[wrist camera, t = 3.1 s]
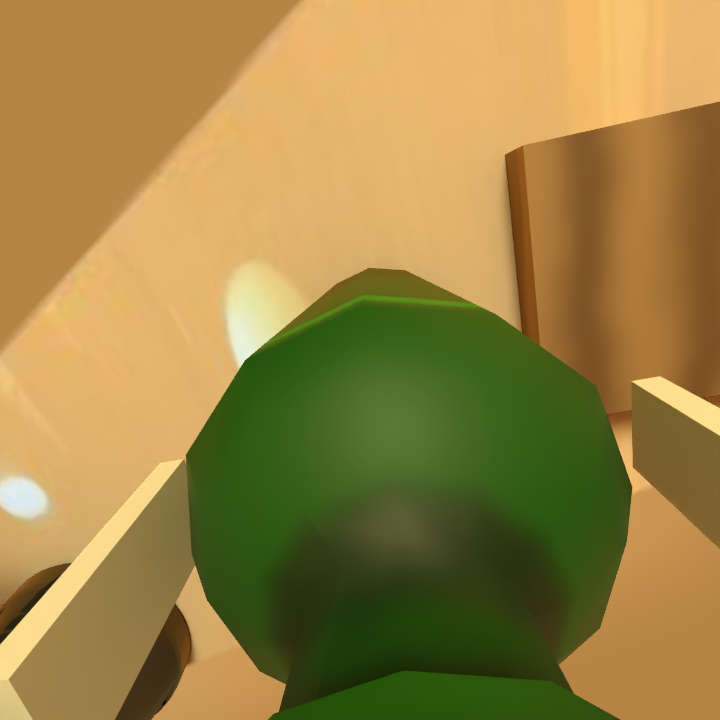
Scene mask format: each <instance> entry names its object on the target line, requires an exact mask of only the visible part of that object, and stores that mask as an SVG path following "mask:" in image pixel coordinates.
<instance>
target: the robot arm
mask: <svg viewBox="0 0 720 720" xmlns="http://www.w3.org/2000/svg"><path fill="white" fill-rule="evenodd" d="M631 393H632V445H633V468H634V469H635V470H637V471H638V472H639V473H640V474H641V475H642V476H643V477H644V478H645V479H646V480H647V481H648V482H649V483H650V484H651V485H652V486H654V487H655V488H656V489H657V490H658V491H659V492H660V493H661V494H662V495H663V496H664V497H665V498H666V499H667V500H669V502H671V503H672V504H673V505H674V506H675V507H676V508H677V509H678V510H679V511H680V512H681V513H682V514H683V515H684V516H685V517H687V518H688V519H689V520H690V521H691V522H692V523H693V524H694V525H695V526H696V527H697V528H698V529H699V530H700V531H701V532H702V533H703V534H705V535H706V536H707V537H708V538H709V539H710V540H711V541H712V542H713V543H714V544H715V545H716V546H717V547H718V548H719V549H720V408H718V407H716V406H715V405H713V404H711V403H709V402H707V401H705V400H703V399H702V398H700V397H698V396H696V395H694V394H692V393H690V392H688V391H687V390H685V389H683V388H681V387H679V386H677V385H675V384H674V383H672V382H670V381H668V380H666V379H664V378H662V377H661V376H659V377H653V378H647V379H641V380H635V381H631ZM194 566H195V562H194V559H193V556H192V552H191V535H190V517H189V499H188V482H187V466H186V463H185V461H184V459H180V460H175V461H169V462H163V463H160V464H159V465H158V466H157V467H156V468H155V469H154V471H153V472H152V473H151V474H150V475H149V476H148V477H147V479H146V480H145V481H144V482H143V483H142V484H141V485H140V487H139V488H138V489H137V490H136V491H135V492H134V493H133V494H132V496H131V497H130V498H129V499H128V500H127V501H126V502H125V504H124V505H123V506H122V507H121V508H120V509H119V510H118V512H117V513H116V514H115V515H114V516H113V517H112V518H111V519H110V521H109V522H108V523H107V524H106V525H105V526H104V527H103V529H102V530H101V531H100V532H99V533H98V534H97V535H96V536H95V538H94V539H93V540H92V541H91V542H90V543H89V544H88V546H87V547H86V548H85V549H84V550H83V551H82V552H81V554H80V555H79V556H78V557H77V558H76V559H75V560H74V561H73V563H69V564H62V565H58V566H54V567H51V568H48V569H45V570H43V571H41V572H39V573H37V574H35V575H34V576H32V577H31V578H29V579H28V580H27V581H26V582H25V583H24V584H23V585H22V586H21V587H20V588H19V589H18V590H17V591H16V592H15V593H14V594H13V595H12V596H11V597H10V598H9V599H8V600H7V602H6V603H5V604H4V605H3V606H2V607H1V609H0V720H151V719H152V718H153V716H154V715H155V714H157V713H158V712H159V711H160V710H161V709H162V708H163V706H165V704H166V703H167V702H168V701H169V699H170V698H171V697H172V695H173V693H174V691H175V690H176V688H177V686H178V683H179V681H180V679H181V676H182V674H183V671H184V669H185V667H186V664H187V662H188V659H189V654H190V636H189V631H188V628H187V625H186V623H185V621H184V618H183V617H182V615H181V613H180V612H179V610H178V609H177V607H176V606H175V605H174V604H175V603H176V601H177V599H178V597H179V595H180V593H181V591H182V589H183V587H184V585H185V583H186V581H187V579H188V577H189V575H190V574H191V572H192V570H193V568H194Z"/></svg>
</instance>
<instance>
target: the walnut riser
mask: <svg viewBox="0 0 720 720" xmlns="http://www.w3.org/2000/svg"><path fill="white" fill-rule="evenodd" d="M505 156H506V166H507V177H508V187H509V197H510V208H511V218H512V228H513V239H514V249H515V259H516V270H517V280H518V291H519V301H520V311H521V322H522V332H523V334H524V335H526V336H527V337H528V338H530V339H531V340H533V341H534V342H535V343H537V344H538V345H540V346H541V347H543V348H544V349H545V350H547V351H548V352H550V353H551V354H552V355H554V356H555V357H557V358H558V359H559V360H561V361H562V362H564V363H565V364H566V365H568V366H569V367H571V368H572V369H573V370H575V371H576V372H578V373H579V374H580V375H582V376H583V377H585V378H586V379H587V380H589V381H590V382H592V383H593V384H594V385H596V386H597V388H598V390H599V393H600V396H601V399H602V402H603V405H604V408H605V411H606V413H607V414H612V413H618V412H623V411H629V410H632V393H631V381H635V380H641V379H647V378H653V377H659V376H661V377H662V378H664V379H666V380H668V381H670V382H672V383H674V384H675V385H677V386H679V387H681V388H683V389H685V390H687V391H688V392H690V393H692V394H694V395H696V396H698V397H700V398H704V397H710V396H716V395H720V102H716V103H712V104H707V105H703V106H698V107H694V108H689V109H685V110H680V111H676V112H671V113H667V114H662V115H658V116H653V117H649V118H644V119H640V120H635V121H631V122H626V123H622V124H618V125H613V126H609V127H604V128H600V129H595V130H591V131H586V132H582V133H577V134H573V135H568V136H564V137H559V138H555V139H550V140H546V141H541V142H537V143H532V144H528V145H523V146H521V147H519V148H517V149H515V150H513V151H511V152H509V153H507V154H506V155H505Z"/></svg>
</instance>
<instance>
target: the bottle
mask: <svg viewBox="0 0 720 720" xmlns="http://www.w3.org/2000/svg"><path fill="white" fill-rule="evenodd" d="M186 464H187V482H188V499H189V517H190V535H191V552H192V556H193V559H194V562H195V565H196V568H197V571H198V574H199V577H200V580H201V583H202V586H203V589H204V592H205V595H206V598H207V601H208V602H209V603H210V605H211V606H212V607H213V609H214V610H215V612H216V613H217V614H218V616H219V617H220V618H221V620H222V621H223V622H224V624H225V625H226V626H227V628H228V629H229V630H230V632H231V633H232V634H233V636H234V637H235V638H236V640H237V641H238V643H239V644H240V645H241V647H242V648H243V649H244V651H245V652H246V653H247V655H248V656H249V657H250V659H251V660H252V661H253V663H254V664H255V665H256V667H257V668H258V669H259V671H260V672H262V673H264V674H266V675H268V676H270V677H273V678H274V679H276V680H278V681H280V682H282V683H285V684H286V687H285V691H284V695H283V698H282V703H281V706H280V710H279V712H278V713H275V714H273V715H272V716H271V717H270V718H269V719H268V720H620V719H618V718H616V717H614V716H613V715H611V714H609V713H607V712H605V711H604V710H602V709H600V708H598V707H596V706H595V705H593V704H591V703H589V702H587V701H586V700H584V699H582V698H580V697H578V696H577V695H575V694H574V693H573V691H572V689H571V688H570V686H569V684H568V682H567V680H566V678H565V676H564V674H563V672H562V671H561V669H560V667H559V664H560V663H561V662H562V661H564V660H565V659H566V658H567V657H568V656H569V655H570V654H572V653H573V652H574V651H575V650H576V649H577V648H578V647H579V646H580V645H582V644H583V643H584V642H585V641H586V640H587V639H588V638H589V637H591V636H592V635H593V634H594V633H595V632H596V631H597V630H598V629H600V626H601V622H602V619H603V616H604V613H605V610H606V607H607V604H608V600H609V597H610V594H611V591H612V587H613V584H614V581H615V578H616V575H617V571H618V568H619V565H620V562H621V558H622V555H623V552H624V549H625V545H626V542H627V535H628V524H629V515H630V504H631V494H632V485H631V483H630V480H629V477H628V474H627V471H626V468H625V465H624V462H623V460H622V457H621V454H620V451H619V448H618V445H617V442H616V439H615V436H614V434H613V431H612V428H611V425H610V422H609V419H608V416H607V413H606V411H605V408H604V405H603V402H602V399H601V396H600V393H599V390H598V388H597V386H596V385H594V384H593V383H592V382H590V381H589V380H587V379H586V378H585V377H583V376H582V375H580V374H579V373H578V372H576V371H575V370H573V369H572V368H571V367H569V366H568V365H566V364H565V363H564V362H562V361H561V360H559V359H558V358H557V357H555V356H554V355H552V354H551V353H550V352H548V351H547V350H545V349H544V348H543V347H541V346H540V345H538V344H537V343H535V342H534V341H533V340H531V339H530V338H528V337H527V336H526V335H524V334H523V333H521V332H520V331H519V330H517V329H516V328H514V327H513V326H512V325H510V324H509V323H507V322H506V321H505V320H503V319H502V318H500V317H499V316H498V315H496V314H494V313H492V312H490V311H488V310H486V309H484V308H482V307H479V306H477V305H475V304H473V303H471V302H469V301H467V300H465V299H463V298H461V297H459V296H457V295H455V294H453V293H451V292H448V291H446V290H444V289H442V288H440V287H438V286H436V285H434V284H432V283H430V282H428V281H426V280H424V279H422V278H420V277H417V276H415V275H413V274H411V273H409V272H407V271H403V270H390V269H376V268H368V269H366V270H364V271H362V272H360V273H358V274H356V275H354V276H352V277H350V278H348V279H346V280H344V281H342V282H340V283H338V284H336V285H335V286H334V287H333V288H331V289H330V290H329V291H328V292H327V293H325V294H324V295H323V296H322V297H321V298H319V299H318V300H317V301H316V302H315V303H313V304H312V305H311V306H310V307H309V308H307V309H306V310H305V311H304V312H303V313H301V314H300V315H299V316H298V317H297V318H295V319H294V320H293V321H292V322H291V323H289V324H288V325H287V326H286V327H285V328H283V329H282V330H281V331H280V332H279V333H277V334H276V335H275V336H274V337H273V338H271V339H270V340H269V341H268V342H267V343H265V344H264V345H263V346H262V347H261V348H259V349H258V350H257V351H256V352H255V353H253V354H252V355H251V356H250V357H249V358H247V359H246V360H245V361H244V363H243V365H242V366H241V368H240V369H239V371H238V373H237V374H236V376H235V377H234V379H233V381H232V382H231V384H230V385H229V387H228V389H227V390H226V392H225V393H224V395H223V397H222V398H221V400H220V401H219V403H218V405H217V406H216V408H215V409H214V411H213V413H212V414H211V416H210V417H209V419H208V421H207V422H206V424H205V425H204V427H203V429H202V430H201V432H200V433H199V435H198V437H197V438H196V440H195V441H194V443H193V445H192V446H191V448H190V449H189V451H188V453H187V454H186Z"/></svg>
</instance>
